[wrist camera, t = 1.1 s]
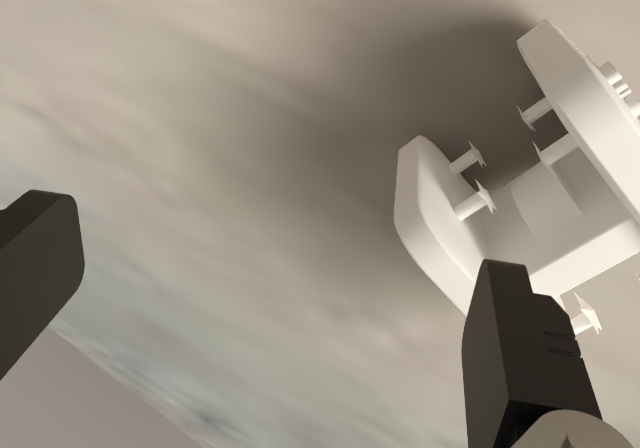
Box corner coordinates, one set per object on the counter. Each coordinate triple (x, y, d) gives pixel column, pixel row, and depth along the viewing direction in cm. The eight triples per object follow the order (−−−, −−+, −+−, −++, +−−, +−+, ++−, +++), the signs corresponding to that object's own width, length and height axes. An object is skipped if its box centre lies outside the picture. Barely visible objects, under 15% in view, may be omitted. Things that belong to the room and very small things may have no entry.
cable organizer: (386, 128, 35) (373, 226, 25) (548, 1, 30) (612, 59, 20) (534, 297, 39) (574, 440, 29) (696, 208, 35) (809, 340, 25)
